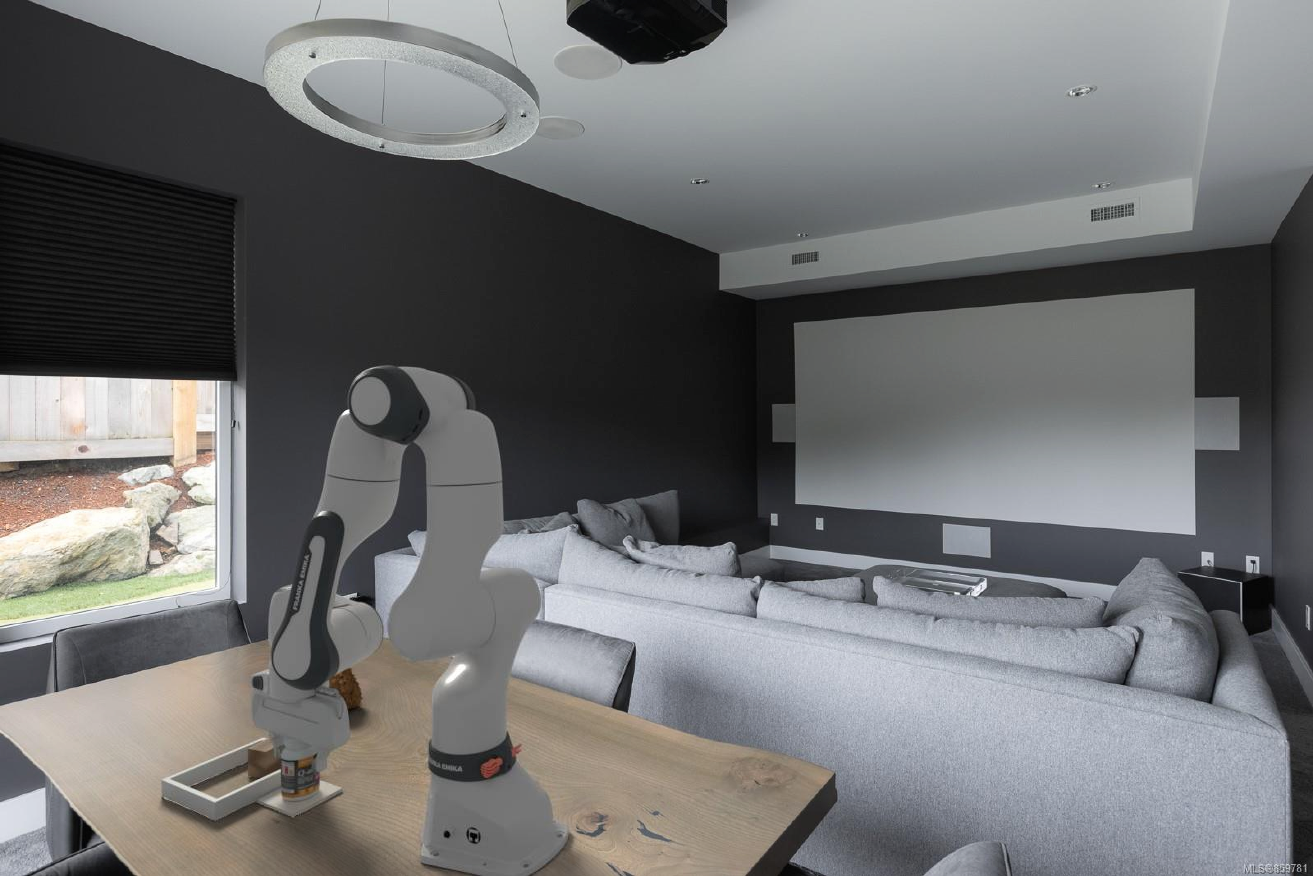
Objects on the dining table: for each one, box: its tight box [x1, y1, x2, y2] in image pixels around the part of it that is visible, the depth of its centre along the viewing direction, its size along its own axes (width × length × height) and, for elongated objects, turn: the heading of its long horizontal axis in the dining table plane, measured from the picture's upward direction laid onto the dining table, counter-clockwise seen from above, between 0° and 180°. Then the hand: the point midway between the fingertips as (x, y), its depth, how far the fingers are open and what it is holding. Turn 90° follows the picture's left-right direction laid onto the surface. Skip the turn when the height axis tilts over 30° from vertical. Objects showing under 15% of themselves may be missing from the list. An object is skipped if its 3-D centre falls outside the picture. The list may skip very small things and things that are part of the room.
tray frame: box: [161, 737, 281, 821], centre depth 122 cm, size 15×18×3 cm
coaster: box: [256, 779, 343, 818], centre depth 118 cm, size 9×9×1 cm
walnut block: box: [247, 738, 281, 779], centre depth 126 cm, size 4×4×5 cm
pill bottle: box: [281, 736, 321, 801], centre depth 118 cm, size 6×6×10 cm
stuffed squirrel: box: [328, 667, 364, 711], centre depth 155 cm, size 10×14×13 cm
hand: (300, 763), depth 118 cm, fingers open, 8 cm apart
